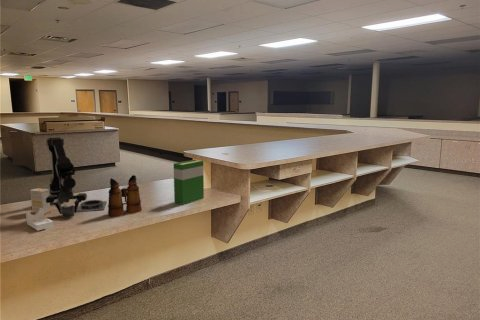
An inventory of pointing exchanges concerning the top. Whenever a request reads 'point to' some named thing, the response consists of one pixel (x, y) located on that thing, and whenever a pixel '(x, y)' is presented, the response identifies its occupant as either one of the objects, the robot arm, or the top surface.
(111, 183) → the binoculars
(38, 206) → the supplement box
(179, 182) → the hardback book
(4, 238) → the top surface
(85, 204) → the barrel plate
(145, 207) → the top surface
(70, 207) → the domed button housing
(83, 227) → the top surface
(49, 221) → the bracket
